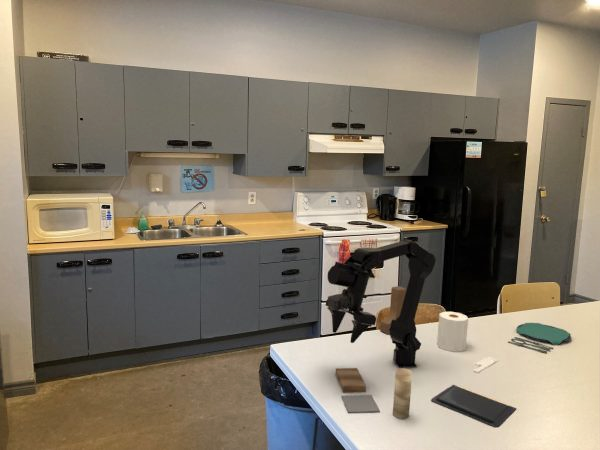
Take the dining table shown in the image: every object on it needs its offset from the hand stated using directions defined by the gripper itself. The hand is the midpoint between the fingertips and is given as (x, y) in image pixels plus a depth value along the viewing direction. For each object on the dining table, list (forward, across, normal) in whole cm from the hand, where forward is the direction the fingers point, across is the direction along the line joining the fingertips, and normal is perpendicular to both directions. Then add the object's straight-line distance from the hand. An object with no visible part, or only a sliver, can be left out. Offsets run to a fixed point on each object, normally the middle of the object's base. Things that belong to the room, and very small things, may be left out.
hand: (342, 337), depth 150 cm
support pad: (+15, +14, 0) cm, 21 cm away
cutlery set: (-11, +7, +94) cm, 95 cm away
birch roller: (+13, +24, +7) cm, 28 cm away
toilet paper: (-1, -3, +56) cm, 56 cm away
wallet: (+8, +30, +29) cm, 42 cm away
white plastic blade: (0, +13, +53) cm, 54 cm away
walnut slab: (+13, +3, +6) cm, 15 cm away
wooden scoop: (+2, -25, +46) cm, 53 cm away
